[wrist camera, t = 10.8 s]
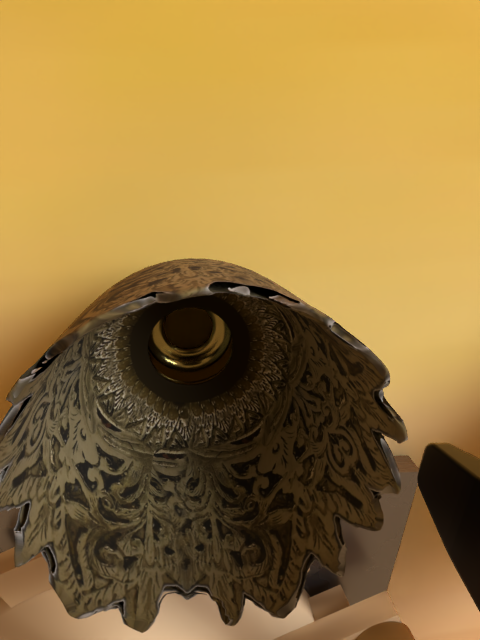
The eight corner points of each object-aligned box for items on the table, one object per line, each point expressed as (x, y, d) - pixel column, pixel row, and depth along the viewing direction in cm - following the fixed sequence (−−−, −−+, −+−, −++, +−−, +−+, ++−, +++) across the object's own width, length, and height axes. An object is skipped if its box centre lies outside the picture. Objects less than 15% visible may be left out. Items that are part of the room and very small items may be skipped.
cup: (61, 407, 16) (-30, 641, 8) (85, 191, 13) (-11, 252, 6) (266, 429, 17) (342, 640, 10) (320, 241, 15) (472, 336, 8)
